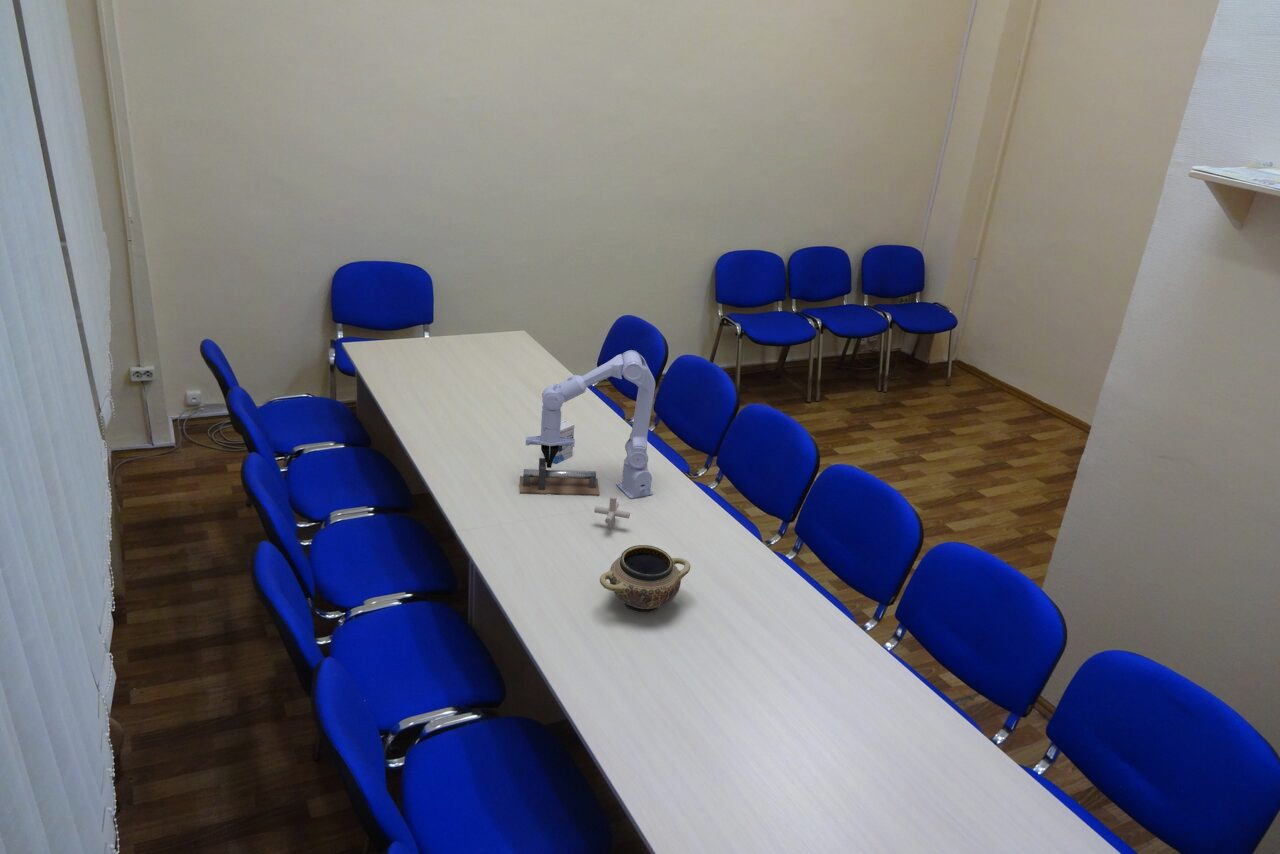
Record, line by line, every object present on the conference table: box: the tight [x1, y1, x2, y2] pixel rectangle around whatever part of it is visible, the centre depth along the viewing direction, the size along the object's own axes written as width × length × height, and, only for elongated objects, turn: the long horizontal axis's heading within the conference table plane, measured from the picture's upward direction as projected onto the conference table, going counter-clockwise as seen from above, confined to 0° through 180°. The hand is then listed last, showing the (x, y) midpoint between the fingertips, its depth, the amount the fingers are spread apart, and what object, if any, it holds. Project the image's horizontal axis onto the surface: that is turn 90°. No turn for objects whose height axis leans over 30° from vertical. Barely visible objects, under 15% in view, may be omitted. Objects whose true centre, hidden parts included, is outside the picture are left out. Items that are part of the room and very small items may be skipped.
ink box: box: [549, 419, 575, 465], centre depth 298 cm, size 8×5×12 cm, turn 143°
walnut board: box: [519, 475, 600, 497], centre depth 283 cm, size 24×10×1 cm, turn 96°
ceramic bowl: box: [599, 544, 691, 614], centre depth 230 cm, size 24×18×15 cm
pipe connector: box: [593, 495, 631, 530], centre depth 262 cm, size 10×10×10 cm
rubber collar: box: [538, 457, 547, 489], centre depth 280 cm, size 2×7×7 cm, turn 6°
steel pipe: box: [522, 468, 597, 488], centre depth 281 cm, size 22×3×5 cm, turn 96°
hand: (548, 466), depth 279 cm, fingers closed
